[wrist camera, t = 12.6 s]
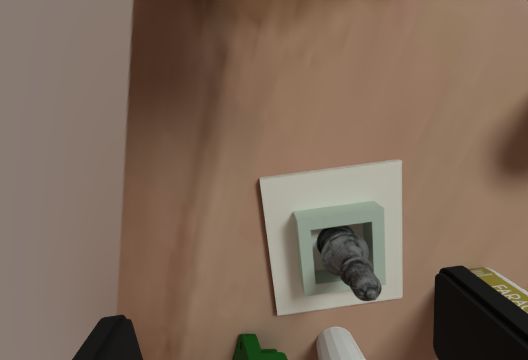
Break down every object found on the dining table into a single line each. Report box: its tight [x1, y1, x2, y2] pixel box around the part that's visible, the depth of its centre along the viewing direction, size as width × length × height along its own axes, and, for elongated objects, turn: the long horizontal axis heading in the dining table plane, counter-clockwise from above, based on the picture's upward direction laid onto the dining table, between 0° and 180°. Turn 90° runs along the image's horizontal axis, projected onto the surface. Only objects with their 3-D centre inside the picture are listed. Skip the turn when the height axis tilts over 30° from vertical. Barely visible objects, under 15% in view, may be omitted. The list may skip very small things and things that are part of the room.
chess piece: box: [317, 225, 382, 301], centre depth 32 cm, size 6×6×12 cm
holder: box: [259, 159, 402, 316], centre depth 37 cm, size 20×18×4 cm
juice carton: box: [470, 268, 528, 313], centre depth 33 cm, size 8×9×19 cm
